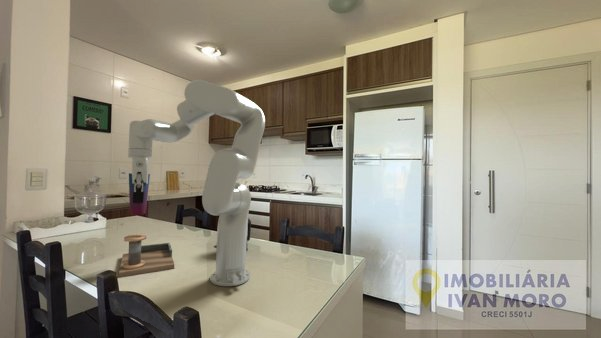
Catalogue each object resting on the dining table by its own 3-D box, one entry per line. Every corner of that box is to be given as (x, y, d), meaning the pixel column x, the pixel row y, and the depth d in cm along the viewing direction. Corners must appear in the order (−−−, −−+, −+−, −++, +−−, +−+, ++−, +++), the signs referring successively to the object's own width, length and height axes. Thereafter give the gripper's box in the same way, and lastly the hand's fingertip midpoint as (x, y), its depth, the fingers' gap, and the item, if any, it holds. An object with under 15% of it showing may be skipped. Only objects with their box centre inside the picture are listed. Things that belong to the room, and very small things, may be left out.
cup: (152, 212, 97) (154, 174, 98) (139, 215, 91) (141, 174, 91) (136, 211, 98) (138, 173, 98) (122, 214, 91) (124, 173, 91)
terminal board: (174, 268, 89) (175, 236, 89) (118, 277, 80) (120, 241, 80) (169, 251, 106) (170, 224, 106) (122, 257, 97) (124, 228, 97)
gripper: (152, 153, 89) (150, 204, 89) (151, 155, 104) (149, 198, 104) (127, 152, 85) (124, 205, 85) (129, 154, 100) (127, 199, 100)
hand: (138, 201), depth 94 cm, fingers closed on cup, 6 cm apart
